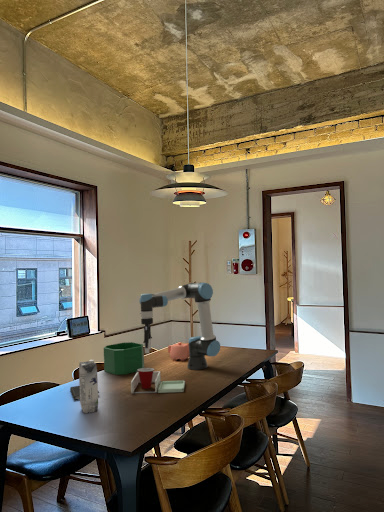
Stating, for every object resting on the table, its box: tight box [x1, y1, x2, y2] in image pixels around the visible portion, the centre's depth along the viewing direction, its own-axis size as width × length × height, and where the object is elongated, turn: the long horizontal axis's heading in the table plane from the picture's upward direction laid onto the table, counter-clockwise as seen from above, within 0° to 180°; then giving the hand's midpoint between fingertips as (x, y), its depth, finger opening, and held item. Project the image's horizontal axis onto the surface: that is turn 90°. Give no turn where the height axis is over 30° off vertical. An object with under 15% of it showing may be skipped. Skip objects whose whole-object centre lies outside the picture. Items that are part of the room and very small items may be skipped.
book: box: [69, 385, 100, 401], centre depth 247 cm, size 22×15×3 cm
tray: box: [157, 380, 186, 394], centre depth 250 cm, size 18×16×2 cm
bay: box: [130, 370, 162, 395], centre depth 254 cm, size 23×16×7 cm
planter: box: [103, 341, 145, 376], centre depth 304 cm, size 26×26×18 cm
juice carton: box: [78, 359, 99, 414], centre depth 217 cm, size 9×10×27 cm
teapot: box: [167, 341, 189, 362], centre depth 329 cm, size 22×13×14 cm, turn 71°
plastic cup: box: [137, 367, 155, 390], centre depth 254 cm, size 11×11×12 cm
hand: (148, 351), depth 254 cm, fingers open, 13 cm apart
